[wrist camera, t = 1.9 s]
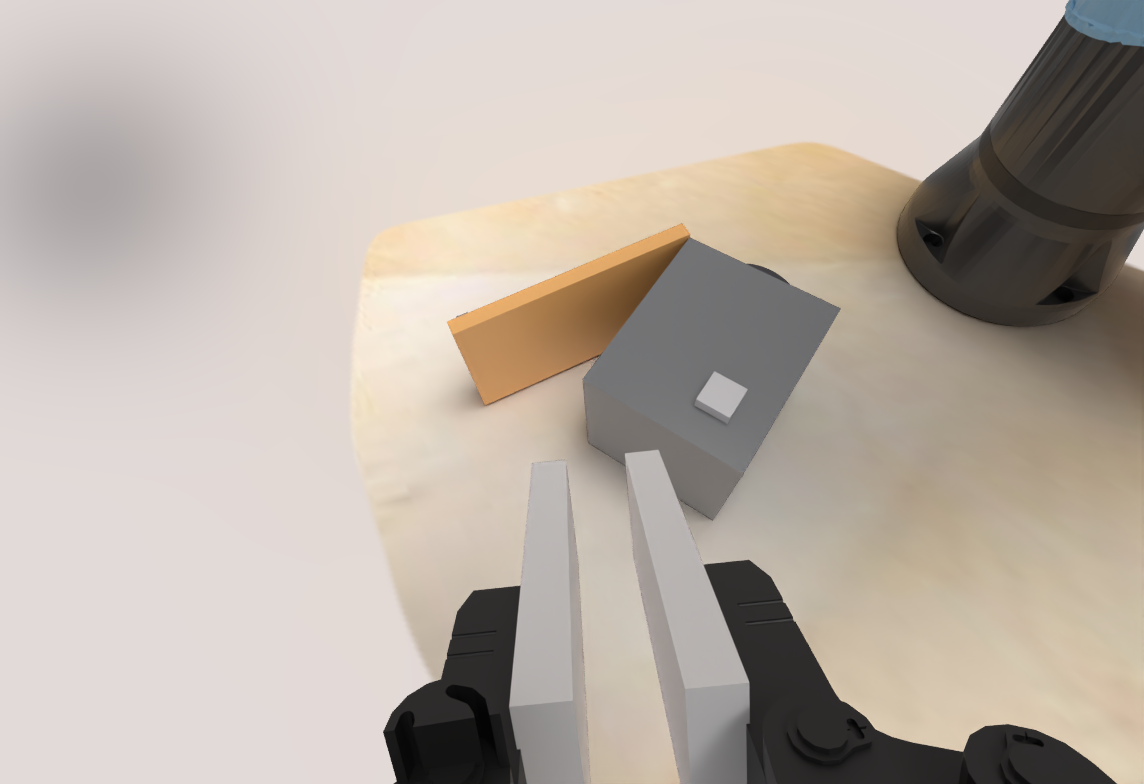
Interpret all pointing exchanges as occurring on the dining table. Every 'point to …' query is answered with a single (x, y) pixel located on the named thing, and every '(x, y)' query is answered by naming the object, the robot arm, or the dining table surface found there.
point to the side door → (560, 317)
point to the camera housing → (703, 370)
